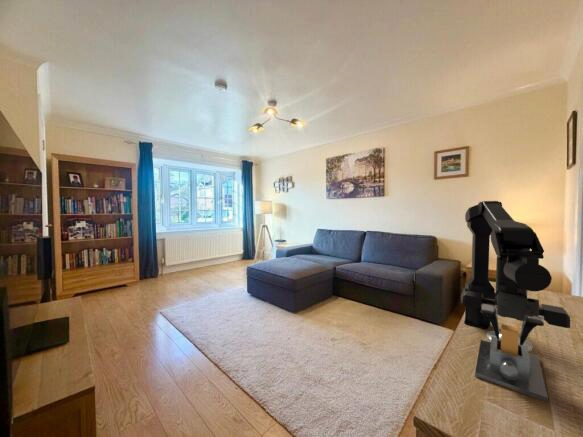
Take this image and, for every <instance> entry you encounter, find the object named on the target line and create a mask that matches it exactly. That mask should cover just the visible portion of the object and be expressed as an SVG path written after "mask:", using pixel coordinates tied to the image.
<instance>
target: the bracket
mask: <svg viewBox="0 0 583 437" xmlns="http://www.w3.org/2000/svg"><path fill="white" fill-rule="evenodd" d="M486 339H487V341H486V340H482V339H480V344H479V349H478V353H477V360H476V365H475V372H474V377H475V376H476V377H475V378H478V377H479V378H478V379H481V378H482V379H481V380H483V379H484V381H486V380H487V382H489V381H490V382H489V383H492V384H494V383H495V385H497V384H498V385H497V386H500V385H502V386H501V387H503V386H505V387H504V388H506V387H508V388H510V389H509V390H511V389H513V390H512V391H514V390H516V391H515V392H517V391H518V392H517V393H520V394H522V393H523V395H526V396H528V397H531V398H535V399H537V400H538V401H539V400H540V401H543V402H545V403H548V401H549V398H548V392H547V389H546V384H545V378H544V376H543V370H542V367H541V361H540V358H539V355H537V354H534V353H530V352H532V351H533V349H534V348H533V344H532V343H531V342H530V341H529V340H528V339H526V340H525V342H524V343H523V345H520V335H518V355H516V354H512V353H509V352H505V351H502V350H501V330H499V339H497V337H496V335H495V332H494V330H489V331H487V332H486ZM508 388H507V389H508Z"/></svg>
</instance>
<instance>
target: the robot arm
mask: <svg viewBox="0 0 583 437" xmlns="http://www.w3.org/2000/svg"><path fill="white" fill-rule="evenodd" d="M464 218H465V222H466V226H467V228H468V230H469V231H470V232H471V234H472V242H471V243H472V244H471V245H472V246H471V275H470V277H469V278H468V279H467V281H465V286H464V288H463V289H462V292H461V294H460V302H461V304H462V306H463V307H465V309H464V310H465V312H464V314H465V315H464V321H463V323H464V324H466V325H469V326H472V327H477V328H482V329H485V330H489V327H490V326H492V329H493V331H494V332H495V335H496V337H497V339H499V331H500V327H499V317H498V316H500V317H501V318H502V317H503V318H509V319H514V320H517V321H521V322H522V325H521V329H520V334H519V336H520V345H523V343H524V342H525V340H527V338H528V337H529V335H530V333H531V332H532V330H533V329H535V328H536V327H537V326H540V327H544V325H545V323H547V324H548V325H551V326H555V327H559V328H564V329H570V328H571V317H570V315H569V312H568V311H567V310H566V309H565V308H564V307H561V306H556V305H551V304H545V303H541V306H540V300H539V299H538V298H537V299H536V298H530V297H528V291H529V292H541V291H543V290H546V289H547V288H548V287H549V286H550V285H551V283H552V275H551V273H550V271H549V270H548V269H547V268H546V267H545V266H543V265H541V264H540V263H539V262H540V260H543V259H544V252H545V250H544V248H543V246H542V243H541V241H540V239H539V237H538V235H537V233H536V232H535V231H534V229H533V228H532V227H531V226H529V225H527V224H526V223H523V222H520V221H516V220H514V219H513V217H512V216H511V215H510V214H509V213H508V212H507V210H506V209H505V208H504V207H503V204H502V201H498V200H482V201H479V202H478V204H476V205H473V206H470V207H468V209H466V212H465V214H464ZM490 242H491V245H492V248H493V251H494V252H495V255H496V262H495V263H496V269H495V270H496V272H495V288H494V285H493V284H491V282H490V280H489V272H490V271H489V268H490V267H489V266H490ZM544 321H545V323H544Z"/></svg>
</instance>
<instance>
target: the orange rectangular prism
mask: <svg viewBox="0 0 583 437" xmlns="http://www.w3.org/2000/svg"><path fill="white" fill-rule="evenodd" d="M500 331H501V350H502V351H505V352H509V353H512V354H516V355H518V336H519V335H520V334H519V326H516V325H512V324H508V323H503V322H502V323H501V330H500Z"/></svg>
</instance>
